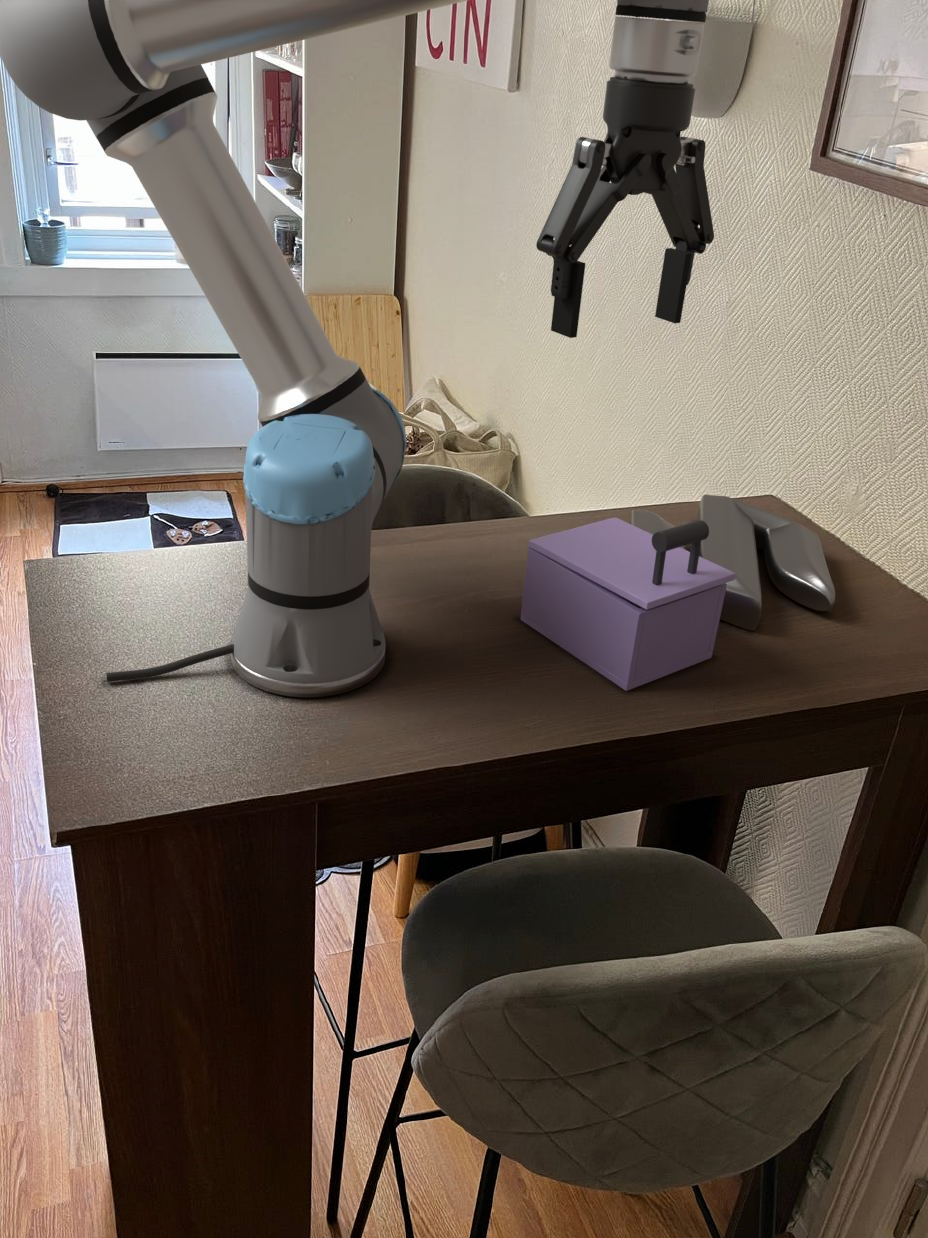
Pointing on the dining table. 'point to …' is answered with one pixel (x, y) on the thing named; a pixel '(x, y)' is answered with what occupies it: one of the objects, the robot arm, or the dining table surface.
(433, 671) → the dining table surface
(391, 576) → the dining table surface
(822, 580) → the emblem
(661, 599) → the file box lid
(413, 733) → the dining table surface
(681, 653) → the box
